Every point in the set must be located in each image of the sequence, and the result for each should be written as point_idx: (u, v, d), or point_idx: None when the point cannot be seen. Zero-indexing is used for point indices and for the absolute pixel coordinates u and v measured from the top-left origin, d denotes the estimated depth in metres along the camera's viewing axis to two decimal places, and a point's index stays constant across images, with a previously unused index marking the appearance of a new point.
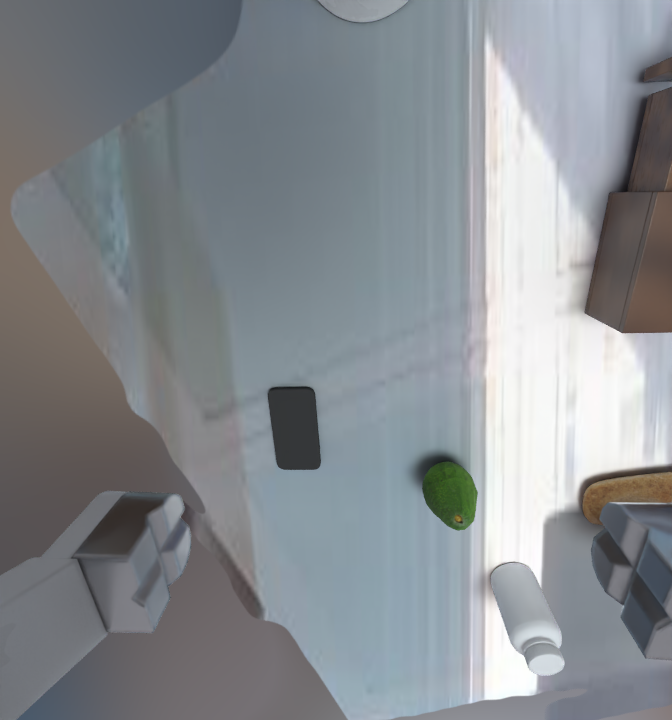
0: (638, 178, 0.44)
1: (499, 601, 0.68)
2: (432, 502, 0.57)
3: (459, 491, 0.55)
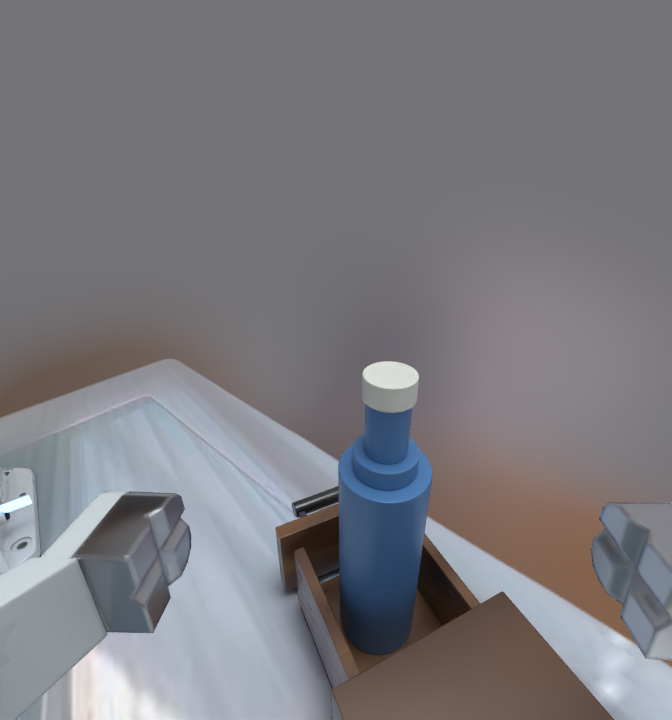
0: None
1: None
2: None
3: None
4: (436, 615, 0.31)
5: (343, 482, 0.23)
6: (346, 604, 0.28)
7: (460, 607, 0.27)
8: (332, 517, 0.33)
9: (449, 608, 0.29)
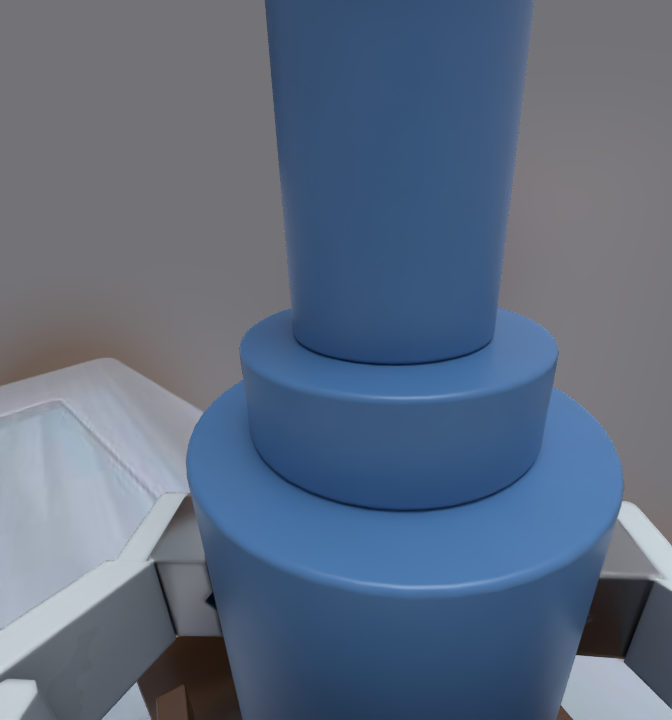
0: None
1: None
2: None
3: None
4: None
5: (188, 479, 0.05)
6: None
7: None
8: None
9: None
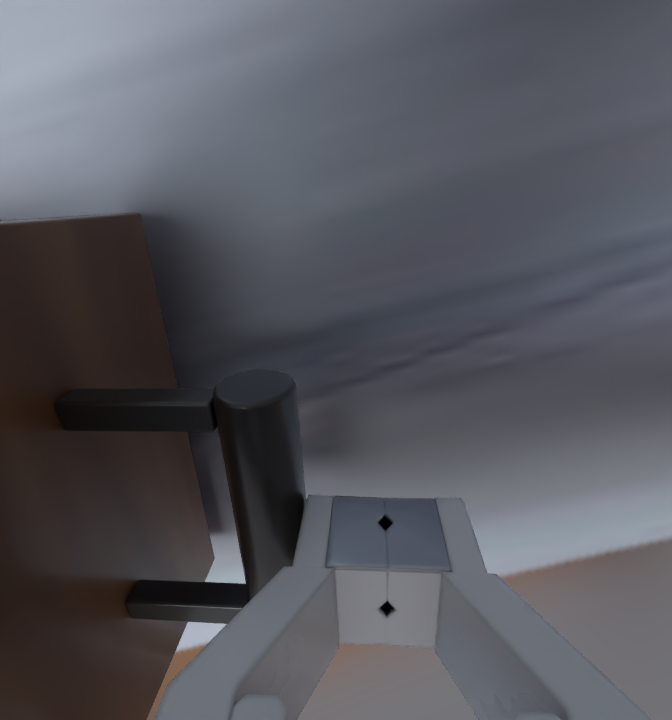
0: None
1: None
2: None
3: None
4: None
5: None
6: None
7: None
8: None
9: None
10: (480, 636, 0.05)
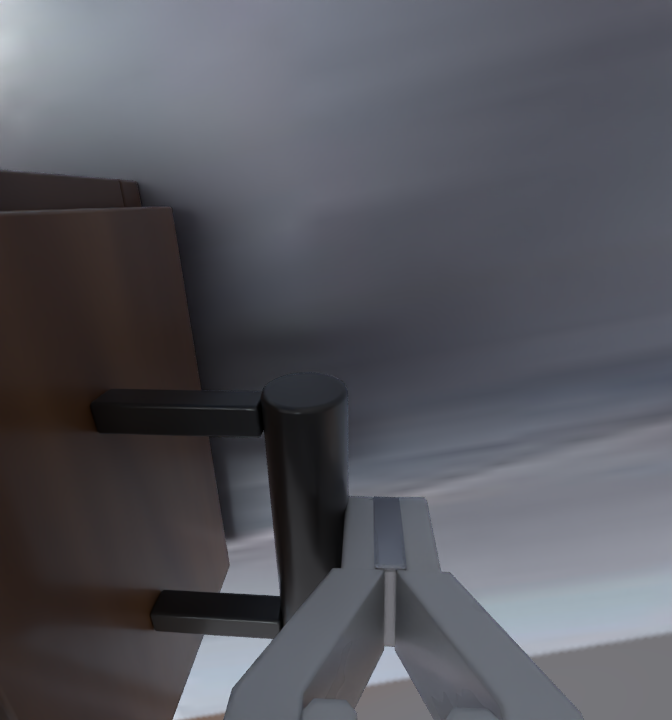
0: None
1: None
2: None
3: None
4: None
5: None
6: None
7: None
8: None
9: None
10: (429, 634, 0.05)
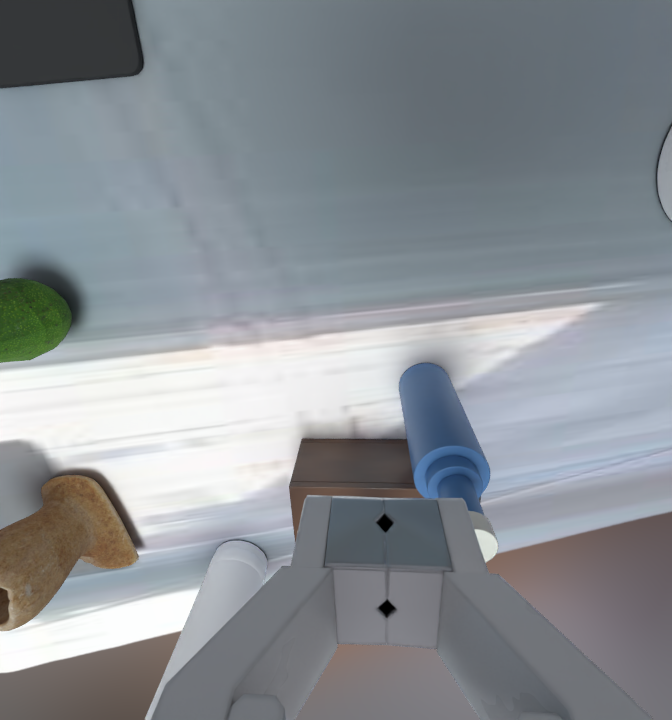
0: None
1: None
2: None
3: (19, 336, 0.35)
4: None
5: (453, 445, 0.29)
6: (426, 378, 0.39)
7: None
8: None
9: None
10: (482, 636, 0.05)
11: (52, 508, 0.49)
